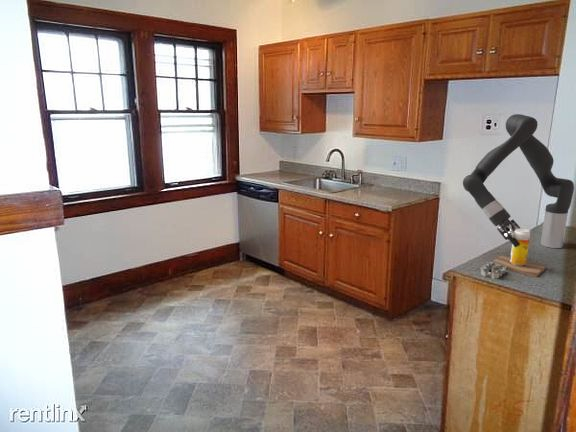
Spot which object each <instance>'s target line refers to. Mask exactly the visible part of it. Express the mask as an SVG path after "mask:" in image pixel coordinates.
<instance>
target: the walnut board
mask: <svg viewBox="0 0 576 432" xmlns="http://www.w3.org/2000/svg"><path fill="white" fill-rule="evenodd" d="M491 262H493V263H496V264H499V265H502V266H503V267H505V266H506V269H505V271H509V272H514V273H517V274H521V275H526V276H531V277H534V278H538V276H540V275H541V274H542V273H543V272H544V271H545V270H546V269H547V264H542V263H538V262H533V261H529V260H526V264H524V265H523V266H517V265H513V264H511V262H510V256H506V255H499V256H498V257H497V258H495V259H494V260H492V261H491Z"/></svg>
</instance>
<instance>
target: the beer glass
mask: <svg viewBox="0 0 576 432" xmlns="http://www.w3.org/2000/svg"><path fill="white" fill-rule="evenodd" d="M520 228H521V227H520ZM520 228H518V229H515V231H514V233H513V235H514V237H515V238H516V239H517V241H518V242H519V243H520V245H519V246H517V247H515V246H514V245H513V244H512V243H511V251H510V256H509V257H510V262H511V264H513V265H517V266H523V265H524V264H526V261H528V260H527V259H528V254H529V246H530V240H531V239H530V238H531V232H530V229H526V228H521V229H520ZM514 237H513V238H514Z"/></svg>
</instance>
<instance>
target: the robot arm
mask: <svg viewBox="0 0 576 432" xmlns="http://www.w3.org/2000/svg"><path fill="white" fill-rule="evenodd" d="M537 128H538V120H537V119H536V118H534V117H532V116H530V115H529V116H528V115H525V114H521V113H516V114H515V113H514V114H512V115H510V116H509V117H508V118H507V119H506V121H505V129H506V132H507V134H508V135H509V136H510V137H509V138H508V139H506V141H504V142H503V143H501V144H500V145H498V146H497V147H495V148H493V149H491V150H490V151H489V152H487V153H486V154H485V155H484V157H483V158H481V160H480V161H479V162H478V164H476V166H475V169H474V170H472V172H471V174H467V176H465V177H464V178H463V180H462V186H463V189H464V190H465V191H466V192H468V193H469V194H470V195H471V197H473V198H474V200H475V201H474V202H475V203H476V204H477V205H478V206H479V208H480V209H481V210H482V211H483V213H484V215H485V216H486V218H488V220H489V221H490V222H491V223H492V225H494V227H497V226H498V227H497V228H496V229H497V231H498V232H499V233H500V235H501V236H502V237H503V239H504V240H506V241H509V242H511V245H512V244H513V245H514V246H515V247H517V246H519V245H520V243H519V242H518V241H517V239H516V238H515V237H514V235H513V234H514V231H515V229H518V228H520V229H522V228H521V227H520V225H519V224H518V223H517V222H516V220H514V219H511V220H510V218H511V214H510V213H509V212H508V211H507V210H506V208H505V207H504V206H503V204H501V202H499V201H498V199H496V197H494V195H493V194H492V193H491V192H490V191H489V190H488V189H487V187H486V185H485V182H486V180H487V179H488V177H489V176H491V174H493V173H494V172H495V170H496V169H497V168H498V167H499V165H500V164H501V163H502V162H503V161H504V160H505V159H506V158H507V157H509V156H510V154H512V153H513V152H514V151H515V150H517V149H518V148H519V149H520V150H521V152H522V154H523V156H524V157H525V159H526V161H527V163H528V164H529V166H530V167H531V168H532V170H533V172H534V173H535V175H536V177H537V179H538V180H539V182H540V185H541V188H542V190H543V192H544V193H545V194H546V195H547V196H548V197H553V198H556V202H554V203H549V204H548V203H547V204H546V206H545V209H544V210H545V211H544V218H543V225H542V232H541V238H540V239H541V240H540V245H541V246H543V247H546V248H551V249H560V248H561V249H562V248H563V247H564V240H565V234H566V228H567V221H568V215H569V210H570V207H571V205H572V200H573V195H574V191H575V184H574V182H573V180H571V179H568V178H561V177H560V178H559V177H556V176H555V174H554V173H553V172H552V168H553V166H554V160H555V159H554V157H553V155H552V154H551V152H550V150H549V149H548V147H547V146H546V145H545V144H544V143H543V142H541V140H539V139H538V138H536V137H535V136H534V134H535V132H536V131H537V130H538V129H537ZM513 237H514V238H513Z"/></svg>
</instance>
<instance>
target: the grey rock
mask: <svg viewBox="0 0 576 432" xmlns="http://www.w3.org/2000/svg"><path fill="white" fill-rule="evenodd" d="M505 269H506V266H505V267H503V266H502V265H499V264H496V263H493V262H492V261H488V262H487V263H485V264H484V265H482V266H480V275H482V276H483V277H484V278H485V277H489V278H491V279H493V280H494V279H495V280H496V279H499V278H500V277H502V275H505V274H506V272H505V271H506V270H505ZM490 270H491V272H490Z"/></svg>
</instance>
